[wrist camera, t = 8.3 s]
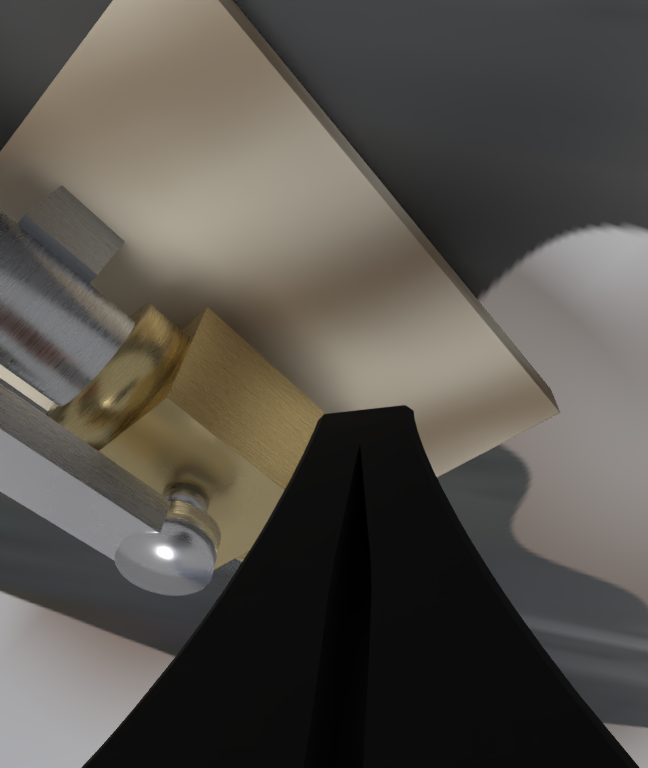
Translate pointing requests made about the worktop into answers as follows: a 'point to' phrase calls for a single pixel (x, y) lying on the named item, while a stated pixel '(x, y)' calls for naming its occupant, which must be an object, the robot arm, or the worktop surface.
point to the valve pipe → (147, 377)
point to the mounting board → (264, 225)
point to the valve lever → (104, 503)
